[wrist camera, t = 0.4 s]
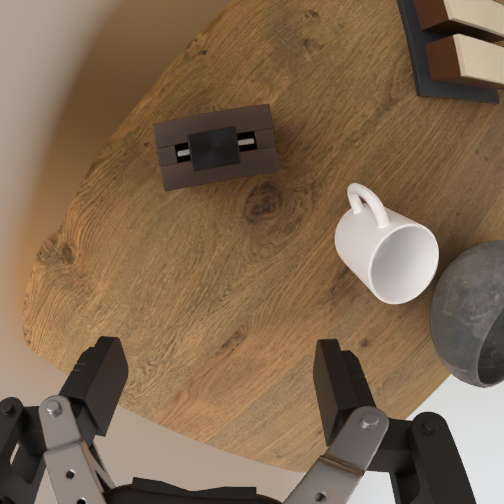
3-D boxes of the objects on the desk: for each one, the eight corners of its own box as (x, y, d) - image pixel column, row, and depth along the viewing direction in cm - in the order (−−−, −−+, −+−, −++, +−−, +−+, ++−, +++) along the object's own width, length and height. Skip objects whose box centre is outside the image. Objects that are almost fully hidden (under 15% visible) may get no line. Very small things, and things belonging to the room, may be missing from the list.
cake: (392, -15, 26) (424, -37, 19) (474, 8, 27) (508, -3, 19) (416, 95, 32) (457, 91, 24) (494, 103, 33) (533, 104, 25)
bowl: (493, 202, 38) (566, 231, 24) (499, 303, 45) (551, 344, 31) (395, 260, 39) (464, 317, 25) (416, 361, 46) (461, 420, 32)
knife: (186, 140, 32) (158, 140, 17) (243, 130, 32) (263, 121, 17) (190, 160, 33) (165, 177, 18) (246, 150, 33) (269, 159, 18)
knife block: (165, 127, 31) (152, 124, 24) (259, 111, 31) (269, 103, 25) (175, 181, 33) (164, 191, 27) (267, 165, 34) (279, 171, 27)
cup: (348, 278, 39) (383, 318, 30) (307, 195, 35) (339, 216, 26) (400, 245, 38) (445, 276, 29) (366, 161, 34) (414, 171, 25)
